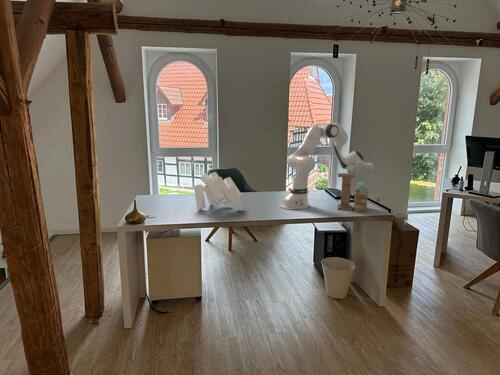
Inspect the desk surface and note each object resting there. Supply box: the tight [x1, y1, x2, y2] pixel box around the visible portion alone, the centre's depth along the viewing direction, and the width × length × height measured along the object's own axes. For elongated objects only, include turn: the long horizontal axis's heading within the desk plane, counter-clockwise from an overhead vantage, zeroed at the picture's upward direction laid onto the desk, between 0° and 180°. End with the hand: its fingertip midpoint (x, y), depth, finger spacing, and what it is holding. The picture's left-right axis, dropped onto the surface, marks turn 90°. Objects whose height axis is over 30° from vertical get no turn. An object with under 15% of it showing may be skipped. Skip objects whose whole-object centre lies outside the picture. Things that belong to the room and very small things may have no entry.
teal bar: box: [357, 181, 366, 193], centre depth 257 cm, size 22×4×4 cm, turn 166°
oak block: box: [353, 187, 369, 213], centre depth 259 cm, size 12×8×15 cm, turn 166°
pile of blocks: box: [193, 171, 244, 212], centre depth 263 cm, size 35×30×35 cm
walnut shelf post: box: [337, 172, 356, 211], centre depth 260 cm, size 10×12×26 cm
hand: (359, 168), depth 268 cm, fingers open, 8 cm apart
